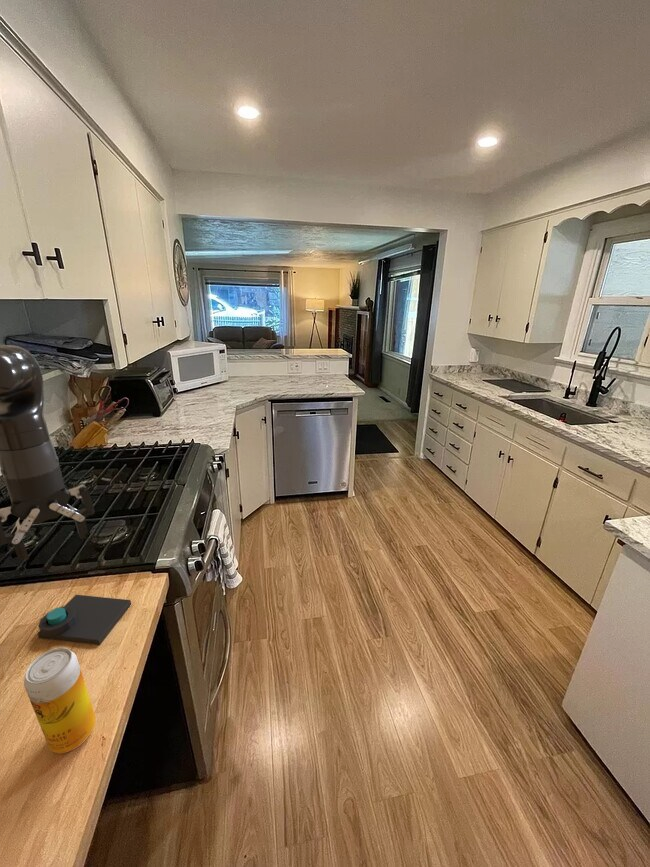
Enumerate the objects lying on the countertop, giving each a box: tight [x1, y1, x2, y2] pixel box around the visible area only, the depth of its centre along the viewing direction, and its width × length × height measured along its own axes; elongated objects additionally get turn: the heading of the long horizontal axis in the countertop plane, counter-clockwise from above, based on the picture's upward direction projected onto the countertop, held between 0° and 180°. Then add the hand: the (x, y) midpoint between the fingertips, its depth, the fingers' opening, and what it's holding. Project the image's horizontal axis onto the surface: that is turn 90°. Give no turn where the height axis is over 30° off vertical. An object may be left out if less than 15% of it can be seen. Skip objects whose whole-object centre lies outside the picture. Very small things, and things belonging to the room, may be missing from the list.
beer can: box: [23, 647, 97, 754], centre depth 53 cm, size 6×6×15 cm
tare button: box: [46, 606, 67, 625], centre depth 72 cm, size 3×3×2 cm
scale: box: [37, 594, 132, 646], centre depth 74 cm, size 13×10×3 cm
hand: (55, 546), depth 66 cm, fingers open, 8 cm apart
